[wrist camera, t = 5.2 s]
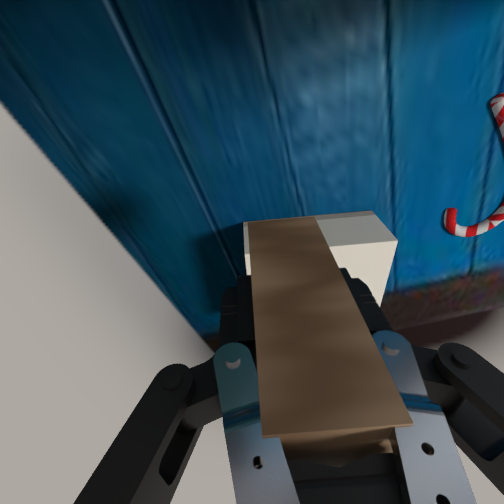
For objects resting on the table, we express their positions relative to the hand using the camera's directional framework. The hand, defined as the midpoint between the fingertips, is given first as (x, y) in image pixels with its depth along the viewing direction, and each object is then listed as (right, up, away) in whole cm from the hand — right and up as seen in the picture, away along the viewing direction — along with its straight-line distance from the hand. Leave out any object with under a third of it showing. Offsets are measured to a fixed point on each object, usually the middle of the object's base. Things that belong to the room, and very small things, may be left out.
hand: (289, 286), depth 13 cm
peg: (0, +2, +3) cm, 3 cm away
